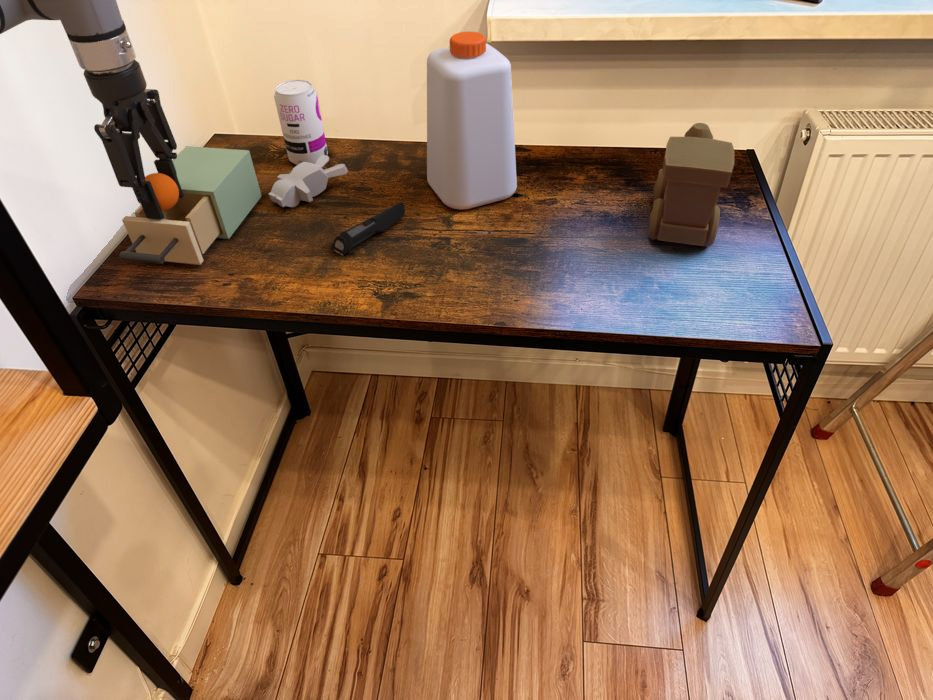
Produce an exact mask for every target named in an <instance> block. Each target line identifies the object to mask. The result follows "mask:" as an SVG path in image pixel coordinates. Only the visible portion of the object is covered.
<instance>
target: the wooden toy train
mask: <svg viewBox="0 0 933 700" xmlns="http://www.w3.org/2000/svg"><path fill="white" fill-rule="evenodd" d="M734 167H735V147H734V145H733V143H732V142H730V141H725V140H720V139H714V135H713V133H712V132H711V128H710V126H709V125H708V124H706V123H704V122H696V123H694V124H692V126H691V127H690V128H689V129H688V130H687V131H686V132H685V133H684V135H683V136H669V138H668V140H667V142H666V146H665V152H664V156H663V162H662V168H660V169H659V170H658V174H657V178H656V181H655V183H654V185H653V202H652V205H653V206H652V209H651V211H650V214H649V216H648V233H647V235H648V238H649V239H650V240H651V241H652V240H653V241H654V240H657V241H663V242H669V243H676V244H684V245H692V246H699V247H700V246H701V247H706V248H708V247H712V245H713V244H714V243H715V241H716V237H717V234H718V230H719V227H720V225H719V223H720V217H721V208H720V207H719V205H717V204H718V200H719V197H720V192H721V188H726V189H728V187H729V184H730V182H731V181H730V180H731V178H732V173H733V170H734Z"/></svg>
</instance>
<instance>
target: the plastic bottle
mask: <svg viewBox="0 0 933 700" xmlns="http://www.w3.org/2000/svg"><path fill="white" fill-rule="evenodd" d="M512 78H513V77H512V65H511V62H510V60H509V58H507V57H506V56H505V55H504V54H503V53H501V52H500V51H499V50H497V48H495V47H493V46H492V45H490V44H488V43H487V38H486V37H485V35H484V34H482V33H481V32H478V31H460V32H457V33H455V34H453V35H451V36H450V38H449V46H447V47H442V48H437V49H435V50H433V51H431V52H430V53H429V54H428V55H427V58H426V181H427V184H428V185H429V186H430V188H431V189H432V190H433V191H434V193H435V194H436V195H437V197H438V198H439V199H440V200H441V202H442V203H443V204H444V205H445V206H447V207H448V208H451V209H453V210H470V209H473V208H478V207H480V206H481V207H482V206H485V205H489V204H493V203H497V202H500V201H504V200H507V199H509V198H510V197H512V196H513V195H514V194H515V193H516V191H517V187H518V179H517V178H518V177H517V160H516V139H515V119H514V101H513V79H512Z"/></svg>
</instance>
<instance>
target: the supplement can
mask: <svg viewBox="0 0 933 700" xmlns="http://www.w3.org/2000/svg"><path fill="white" fill-rule="evenodd" d="M273 98H274V103H275V107H276V111H277V115H278V119H279V120H278V121H279V124H280V129H281V133H282V137H283V142H284V146H285V150H286V154H287V158H288V161H289V162H291V163H292V164H293V165H295V166H297V165H298V164H300V163H302V162H308V163H313V164H315V163H316V162H317V160H318V159H319V157H320V156H322V155H327V156H328V154H329V152H328V146H327V141H326V136H325V130H324V125H323V119H322V114H321V108H320V103H319V98H318V92H317V91H316V89H315V87H314V86H313V85H312V83H311V82H310V81H309V80H305V79H291V80H287V81H283V82H281V83H279V84H278V85H276V87H275V92H274V95H273Z"/></svg>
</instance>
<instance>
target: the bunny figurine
mask: <svg viewBox="0 0 933 700" xmlns="http://www.w3.org/2000/svg"><path fill="white" fill-rule="evenodd" d="M329 162H330V157H329V156H328V154H327V155H322V156H320V157H319V159H318V160H317V162H316V163H315V164H313V163H308V162H302V163H300V164H298V165H295V166H294V167H293V168H292V169H291V171H290V172H289V173H280V174H279V175H278V176H276V178H277V180H276V181H275V182H274V183H273V185H272V186H271V187H272V188H271V190H270V192H269V193H268V196H269V199H270V201H271V202H273V203H275V204H277V205H278V206H280V207H282V208H284V207H289V208H295V207H297V206H298V205H300V202H301V201H304V202H308V203H311V202H314V198H313V197H316V196H318V195H320V194H321V193H323V192H324V191H325V190H326V189H327V185H328V181H329V179H330V178H334V177H339V176H343V175H347V174H348V172H349V170H348V168H347V166H346V164H345V163H339V164H335V165H334V166H331V167H329V168H326V169H324V167H325V166H326V165H327V164H328V163H329Z"/></svg>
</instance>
